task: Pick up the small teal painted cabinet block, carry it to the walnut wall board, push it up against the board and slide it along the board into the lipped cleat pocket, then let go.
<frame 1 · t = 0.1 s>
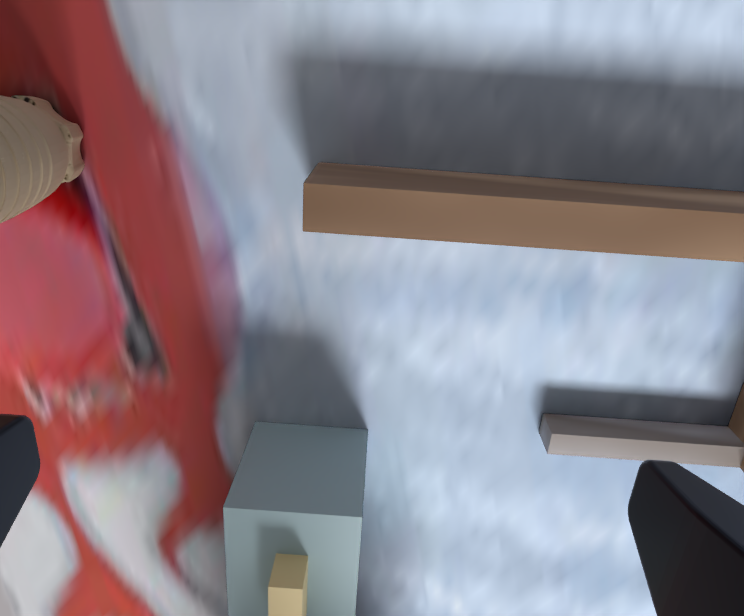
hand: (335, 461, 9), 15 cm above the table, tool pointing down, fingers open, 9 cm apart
cabinet: (310, 486, 27), on the table
cleat board: (536, 328, 23), on the table
handle: (49, 142, 21), on the table
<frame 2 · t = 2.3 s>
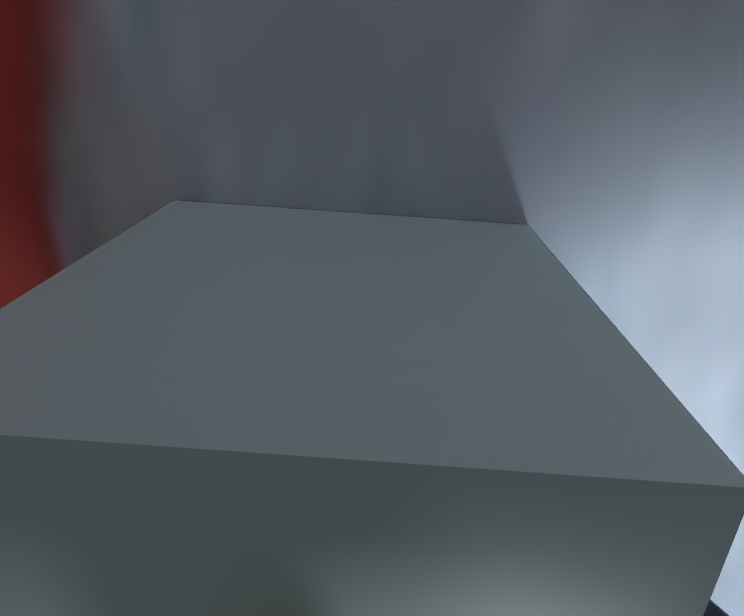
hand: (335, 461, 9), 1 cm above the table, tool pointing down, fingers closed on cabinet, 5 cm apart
cabinet: (340, 421, 10), on the table, touching gripper
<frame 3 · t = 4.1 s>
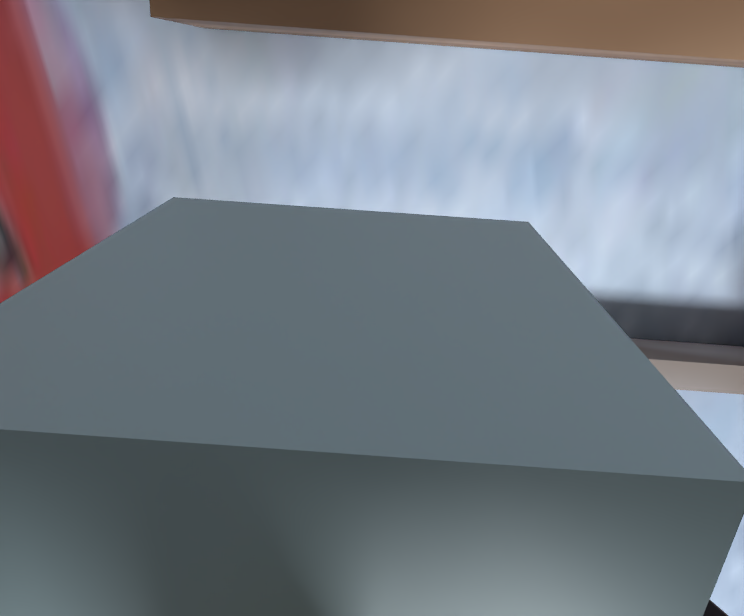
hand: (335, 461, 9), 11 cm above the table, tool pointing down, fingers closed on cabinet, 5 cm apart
cabinet: (340, 419, 9), point 10 cm above the table, touching gripper
cleat board: (501, 210, 18), on the table
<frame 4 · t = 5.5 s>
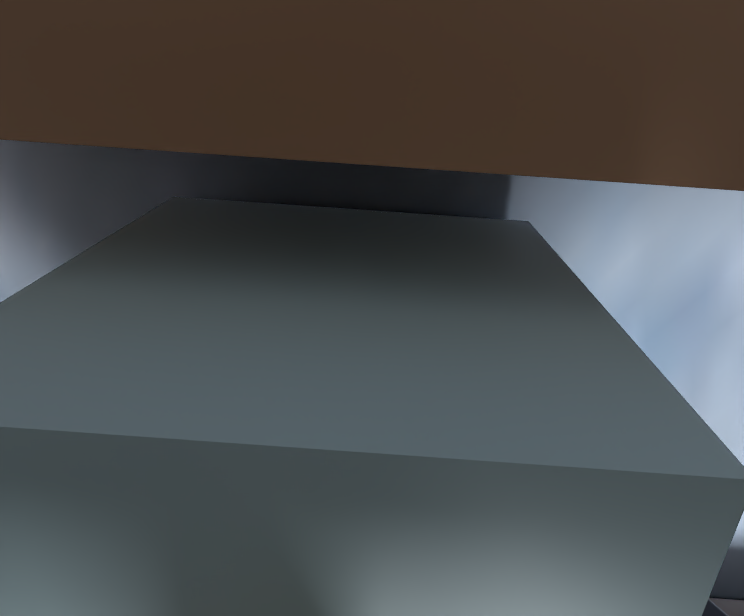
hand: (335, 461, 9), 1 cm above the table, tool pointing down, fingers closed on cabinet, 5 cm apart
cabinet: (340, 419, 10), on the table, touching gripper
cleat board: (577, 412, 10), on the table
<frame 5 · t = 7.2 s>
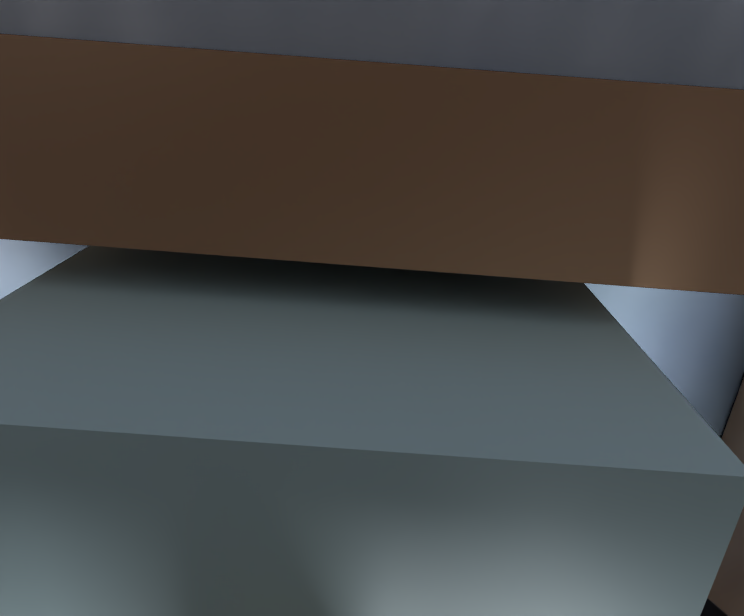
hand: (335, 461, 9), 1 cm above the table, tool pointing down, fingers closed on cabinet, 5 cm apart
cabinet: (340, 418, 9), on the table, touching gripper
cleat board: (194, 425, 10), on the table
when the fingers open (2 cm above the table, at t = 8.7 s): cabinet stays where it is, on the table.
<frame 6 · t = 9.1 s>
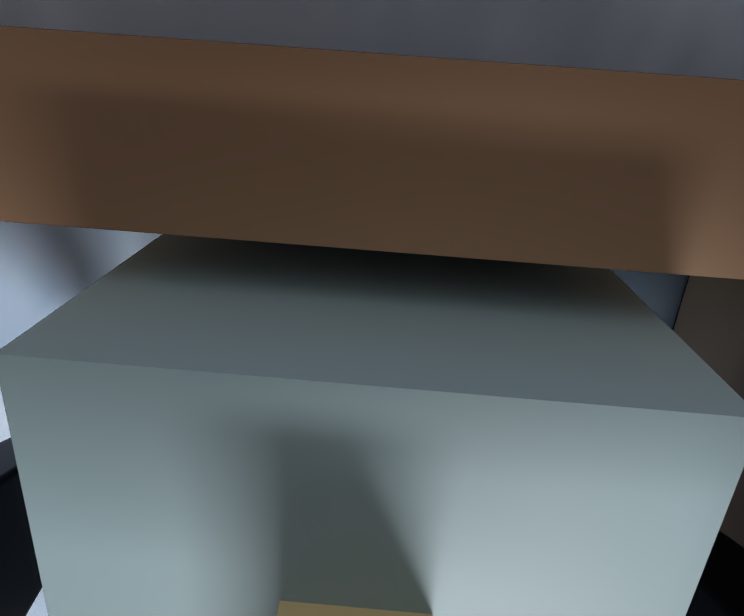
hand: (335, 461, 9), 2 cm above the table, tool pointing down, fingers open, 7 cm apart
cabinet: (373, 398, 10), on the table
cleat board: (130, 407, 10), on the table
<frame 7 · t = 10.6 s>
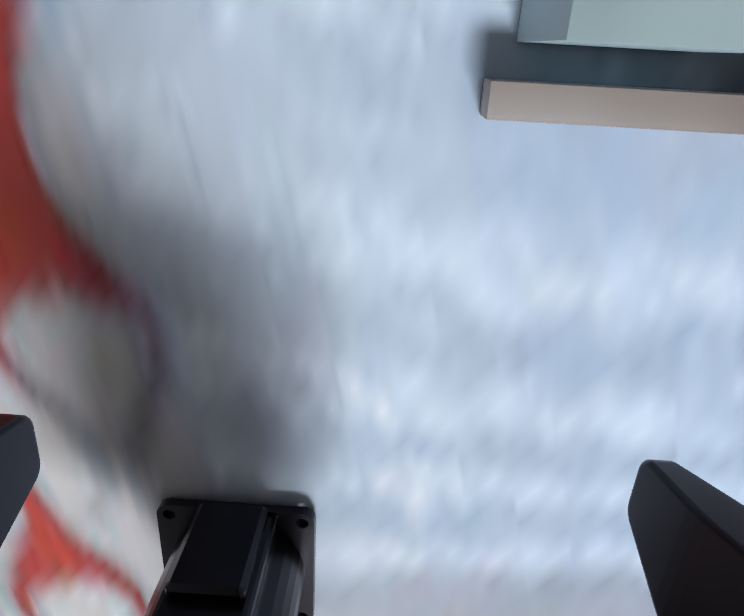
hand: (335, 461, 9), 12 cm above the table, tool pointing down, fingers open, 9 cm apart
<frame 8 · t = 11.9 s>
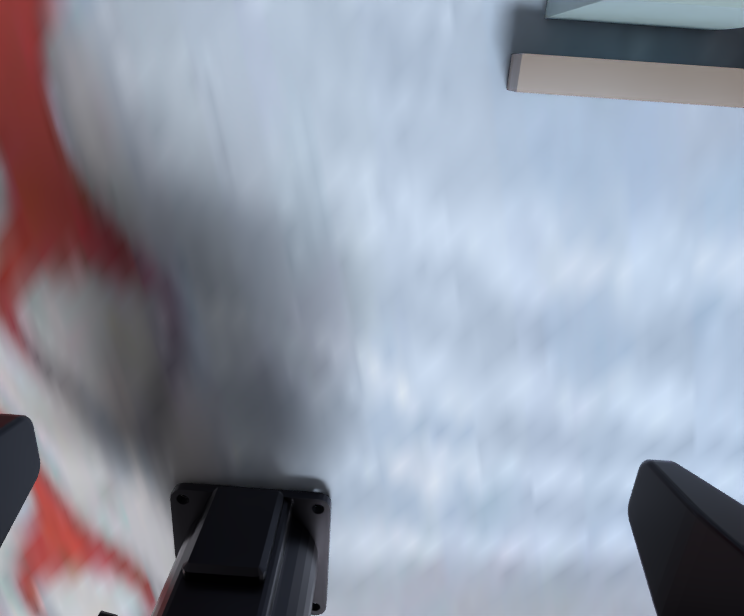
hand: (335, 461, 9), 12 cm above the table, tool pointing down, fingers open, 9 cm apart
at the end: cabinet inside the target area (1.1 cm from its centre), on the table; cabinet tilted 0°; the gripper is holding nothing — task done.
